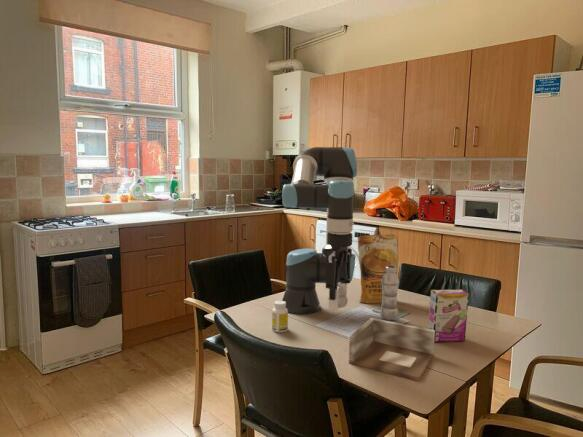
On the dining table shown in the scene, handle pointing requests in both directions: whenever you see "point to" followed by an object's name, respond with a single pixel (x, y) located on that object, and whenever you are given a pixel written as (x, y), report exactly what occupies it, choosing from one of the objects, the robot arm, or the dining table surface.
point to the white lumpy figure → (341, 297)
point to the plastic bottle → (389, 294)
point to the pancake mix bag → (375, 263)
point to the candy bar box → (448, 315)
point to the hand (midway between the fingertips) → (337, 306)
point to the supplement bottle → (279, 317)
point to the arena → (392, 348)
